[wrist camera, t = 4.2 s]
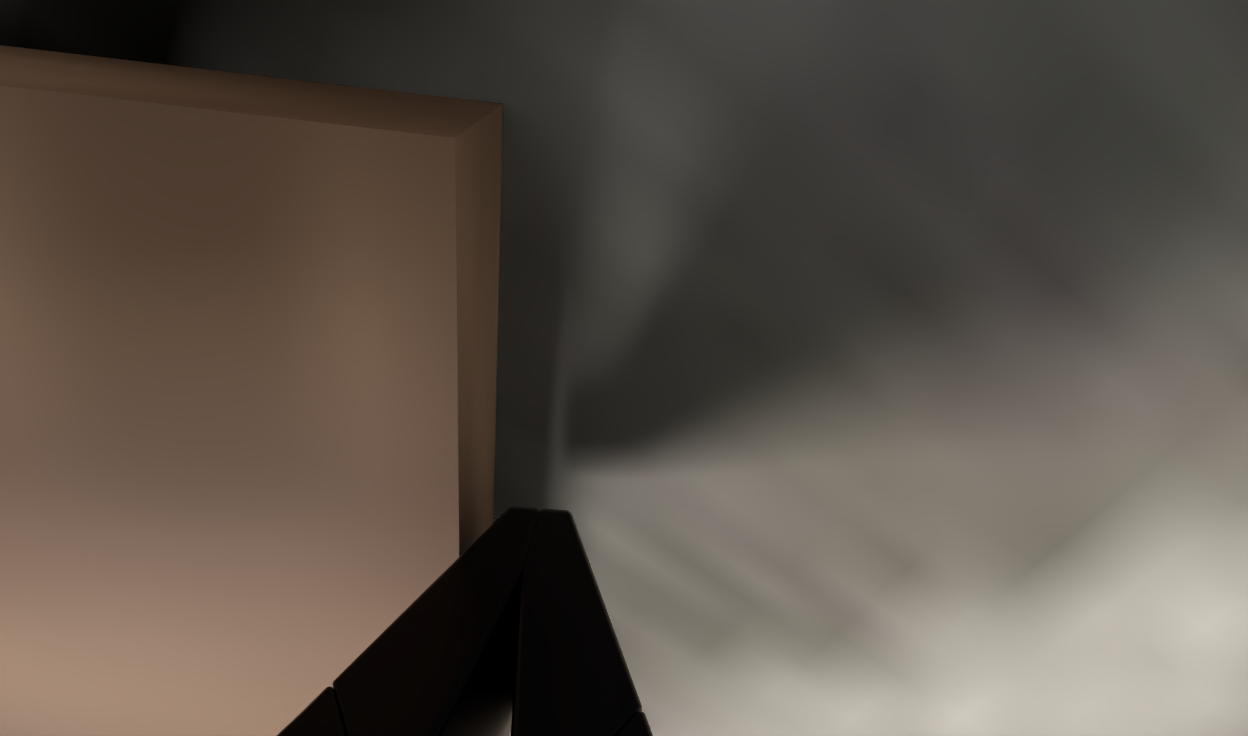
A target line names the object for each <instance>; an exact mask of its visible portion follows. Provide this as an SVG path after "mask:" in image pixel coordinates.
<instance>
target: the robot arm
mask: <svg viewBox="0 0 1248 736" xmlns="http://www.w3.org/2000/svg"><path fill="white" fill-rule="evenodd" d="M332 686H333V688H332V687H330V686H329V687H326V688H325V689H324V690H323V691H322V692H321V693H320V694H319V695H318V696H317V697H316V698H315V699H314V700H313V701H312V702H311V703H310V704H309V705H308V706H307V707H306V708H305V709H304V710H303V711H302V712H301V713H300V714H299V715H298V716H297V717H296V718H295V719H294V720H293V721H291V722H290V723H289V724H288V725H287V726H286V727H285V728H284V729H283V730H282V731H281V732H280V733H279V734H278V735H277V736H509V734H510V730H511V736H653V735H652V732H651V729H650V726H649V724H648V721H647V718H646V716H645V713H644V712H642V706H641V703H640V700H639V697H638V695H637V692H636V689H635V686H634V684H633V681H632V678H631V675H630V673H629V670H628V667H627V664H626V662H625V659H624V656H623V654H622V651H621V648H620V645H619V643H618V640H617V637H616V634H615V632H614V629H613V626H612V623H611V621H610V618H609V615H608V612H607V610H606V607H605V604H604V601H603V599H602V596H601V593H600V590H599V588H598V585H597V582H596V580H595V577H594V574H593V571H592V569H591V566H590V563H589V560H588V558H587V555H586V552H585V549H584V547H583V544H582V541H581V538H580V536H579V533H578V530H577V527H576V525H575V522H574V519H573V516H572V514H571V513H570V512H569V511H566V510H555V509H542V510H540V509H538V508H530V507H517V506H514V507H510V508H509V509H507V510H506V511H505V512H504V513H503V514H502V515H501V516H500V517H499V518H498V519H497V520H496V521H495V522H494V523H493V524H492V525H491V526H490V527H489V528H488V529H487V530H486V531H485V532H484V533H483V534H482V535H481V536H480V537H479V538H478V539H477V540H476V541H475V542H474V543H473V544H472V545H471V546H470V547H469V548H468V549H467V550H466V551H465V552H464V553H463V554H462V555H461V556H460V557H459V558H458V559H457V560H456V561H455V562H454V563H453V564H452V565H451V566H450V567H449V568H448V569H447V570H446V571H445V572H444V573H442V574H441V575H440V576H439V577H438V578H437V579H436V580H435V581H434V582H433V583H432V584H431V585H430V586H429V587H428V588H427V589H426V590H425V591H424V592H423V593H422V594H421V595H420V596H419V597H418V598H417V599H416V600H415V601H414V602H413V603H412V604H411V605H410V606H409V607H408V608H407V609H406V610H405V611H404V612H403V613H402V614H401V615H400V616H399V617H398V618H397V619H396V620H395V621H394V622H393V623H392V624H391V625H390V626H389V627H388V628H387V629H386V630H385V631H384V632H383V633H382V634H381V635H380V636H379V637H378V638H377V639H376V640H375V641H374V642H373V643H372V644H370V645H369V646H368V647H367V648H366V649H365V650H364V651H363V652H362V653H361V654H360V655H359V656H358V657H357V658H356V659H355V660H354V661H353V662H352V663H351V664H350V665H349V666H348V667H347V668H346V669H345V670H344V671H343V672H342V673H341V674H340V675H339V676H338V677H337V678H336V679H335V680H334V681H333V683H332Z"/></svg>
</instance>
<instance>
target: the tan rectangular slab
mask: <svg viewBox="0 0 1248 736" xmlns="http://www.w3.org/2000/svg"><path fill="white" fill-rule="evenodd" d="M502 116H503V104H500V103H491V102H482V101H474V100H465V99H457V98H448V97H440V96H431V95H422V94H414V93H405V92H397V91H388V90H380V89H371V88H362V87H354V86H345V85H337V84H328V83H320V82H311V81H302V80H294V79H285V78H277V77H268V76H259V75H251V74H242V73H234V72H225V71H217V70H208V69H199V68H191V67H182V66H174V65H165V64H157V63H148V62H139V61H131V60H122V59H114V58H105V57H97V56H88V55H79V54H71V53H62V52H54V51H45V50H37V49H28V48H19V47H11V46H2V45H0V736H277V735H278V734H279V733H280V732H281V731H282V730H283V729H284V728H285V727H286V726H287V725H288V724H289V723H290V722H291V721H293V720H294V719H295V718H296V717H297V716H298V715H299V714H300V713H301V712H302V711H303V710H304V709H305V708H306V707H307V706H308V705H309V704H310V703H311V702H312V701H313V700H314V699H315V698H316V697H317V696H318V695H319V694H320V693H321V692H322V691H323V690H324V689H325V688H326V687H329V686H330V687H332V688H333V686H332V683H333V681H334V680H335V679H336V678H337V677H338V676H339V675H340V674H341V673H342V672H343V671H344V670H345V669H346V668H347V667H348V666H349V665H350V664H351V663H352V662H353V661H354V660H355V659H356V658H357V657H358V656H359V655H360V654H361V653H362V652H363V651H364V650H365V649H366V648H367V647H368V646H369V645H370V644H372V643H373V642H374V641H375V640H376V639H377V638H378V637H379V636H380V635H381V634H382V633H383V632H384V631H385V630H386V629H387V628H388V627H389V626H390V625H391V624H392V623H393V622H394V621H395V620H396V619H397V618H398V617H399V616H400V615H401V614H402V613H403V612H404V611H405V610H406V609H407V608H408V607H409V606H410V605H411V604H412V603H413V602H414V601H415V600H416V599H417V598H418V597H419V596H420V595H421V594H422V593H423V592H424V591H425V590H426V589H427V588H428V587H429V586H430V585H431V584H432V583H433V582H434V581H435V580H436V579H437V578H438V577H439V576H440V575H441V574H442V573H444V572H445V571H446V570H447V569H448V568H449V567H450V566H451V565H452V564H453V563H454V562H455V561H456V560H457V559H458V558H459V557H460V556H461V555H462V554H463V553H464V552H465V551H466V550H467V549H468V548H469V547H470V546H471V545H472V544H473V543H474V542H475V541H476V540H477V539H478V538H479V537H480V536H481V535H482V534H483V533H484V532H485V531H486V530H487V529H488V528H489V527H490V526H491V525H492V524H493V522H494V477H495V432H496V387H497V342H498V297H499V252H500V207H501V162H502Z"/></svg>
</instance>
